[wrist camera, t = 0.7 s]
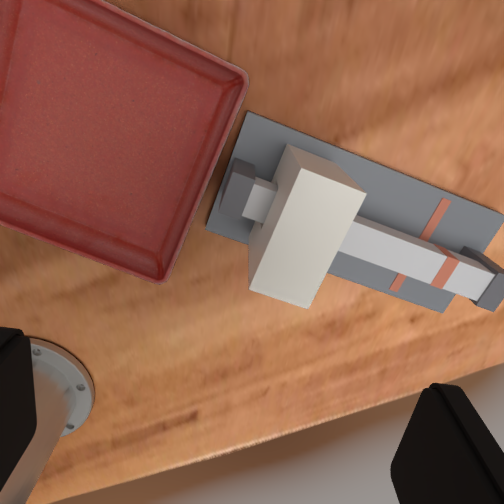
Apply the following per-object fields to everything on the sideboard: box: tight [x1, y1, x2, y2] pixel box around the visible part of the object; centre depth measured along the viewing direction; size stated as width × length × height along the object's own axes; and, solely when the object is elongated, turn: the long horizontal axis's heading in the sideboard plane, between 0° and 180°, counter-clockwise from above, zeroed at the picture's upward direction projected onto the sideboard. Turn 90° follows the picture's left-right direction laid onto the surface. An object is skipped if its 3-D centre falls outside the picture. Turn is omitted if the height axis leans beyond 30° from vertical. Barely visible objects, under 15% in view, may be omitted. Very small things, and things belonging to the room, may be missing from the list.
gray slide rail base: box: [205, 111, 504, 313], centre depth 32 cm, size 10×23×6 cm, turn 69°
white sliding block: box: [249, 144, 367, 309], centre depth 28 cm, size 8×4×9 cm, turn 159°
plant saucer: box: [0, 0, 249, 285], centre depth 31 cm, size 18×18×3 cm
